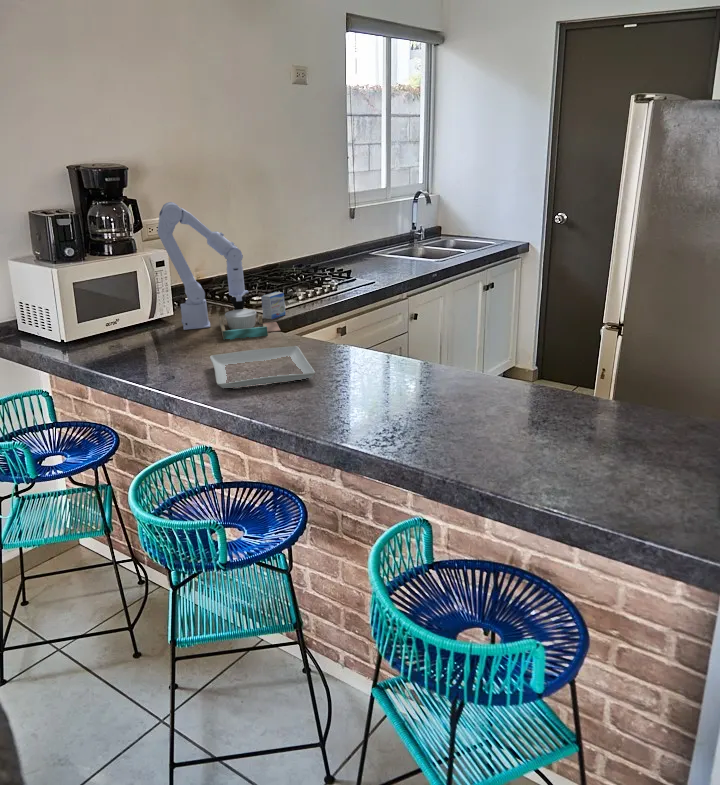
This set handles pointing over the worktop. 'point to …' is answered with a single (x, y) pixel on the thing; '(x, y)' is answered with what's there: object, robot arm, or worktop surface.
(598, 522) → the worktop surface
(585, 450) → the worktop surface
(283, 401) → the worktop surface
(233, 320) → the ramekin
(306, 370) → the square plate
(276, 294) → the medicine box
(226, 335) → the lane
